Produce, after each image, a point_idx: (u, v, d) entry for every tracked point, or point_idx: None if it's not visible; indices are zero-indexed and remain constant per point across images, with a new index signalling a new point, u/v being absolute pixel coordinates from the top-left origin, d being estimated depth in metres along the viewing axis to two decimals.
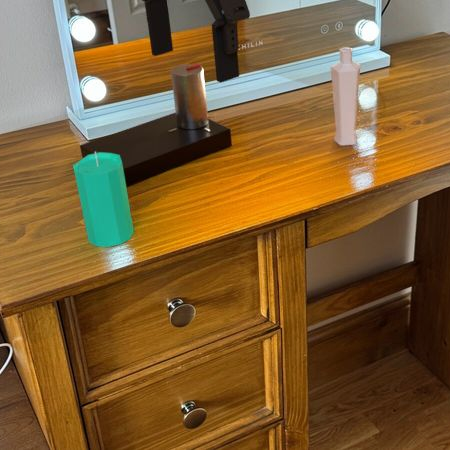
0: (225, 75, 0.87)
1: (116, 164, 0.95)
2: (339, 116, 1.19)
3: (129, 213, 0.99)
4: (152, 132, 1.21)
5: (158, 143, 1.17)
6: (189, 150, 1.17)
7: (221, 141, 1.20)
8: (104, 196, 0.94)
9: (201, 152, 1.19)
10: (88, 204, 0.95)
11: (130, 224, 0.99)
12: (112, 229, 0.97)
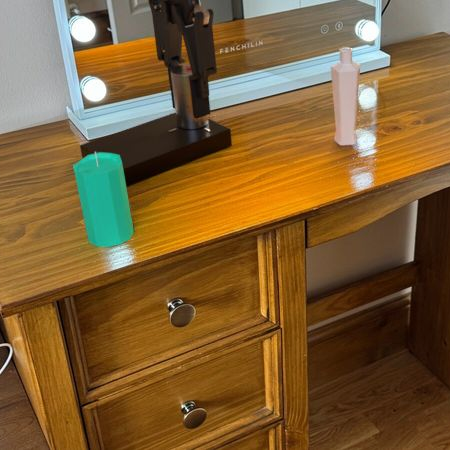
0: (200, 113, 1.19)
1: (116, 164, 0.95)
2: (339, 116, 1.19)
3: (129, 213, 0.99)
4: (152, 132, 1.21)
5: (158, 143, 1.17)
6: (189, 150, 1.17)
7: (221, 141, 1.20)
8: (104, 196, 0.94)
9: (201, 152, 1.19)
10: (88, 204, 0.95)
11: (130, 224, 0.99)
12: (112, 229, 0.97)
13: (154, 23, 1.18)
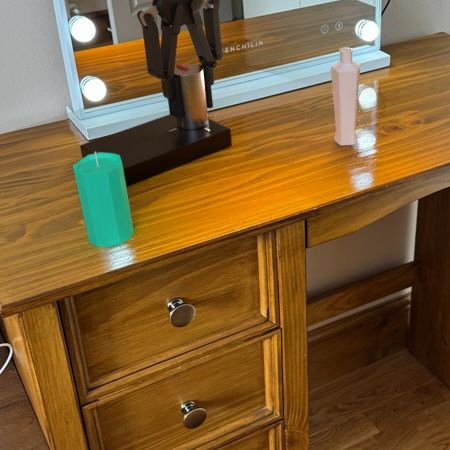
0: None
1: (116, 164, 0.95)
2: (339, 116, 1.19)
3: (129, 213, 0.99)
4: (152, 132, 1.21)
5: (158, 143, 1.17)
6: (189, 150, 1.17)
7: (221, 141, 1.20)
8: (104, 196, 0.94)
9: (201, 152, 1.19)
10: (88, 204, 0.95)
11: (130, 224, 0.99)
12: (112, 229, 0.97)
13: (153, 40, 1.11)
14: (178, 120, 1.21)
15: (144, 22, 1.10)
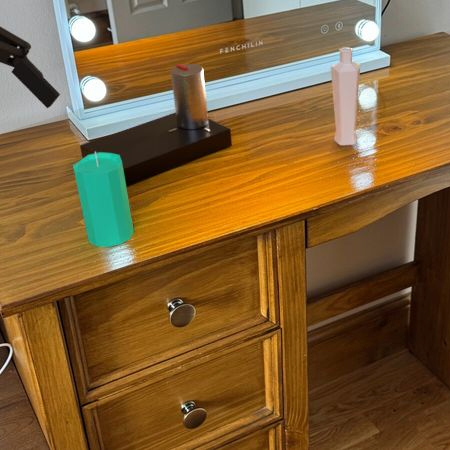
0: None
1: (116, 164, 0.95)
2: (339, 116, 1.19)
3: (129, 213, 0.99)
4: (152, 132, 1.21)
5: (158, 143, 1.17)
6: (189, 150, 1.17)
7: (221, 141, 1.20)
8: (104, 196, 0.94)
9: (201, 152, 1.19)
10: (88, 204, 0.95)
11: (130, 224, 0.99)
12: (112, 229, 0.97)
13: None
14: (178, 120, 1.21)
15: None
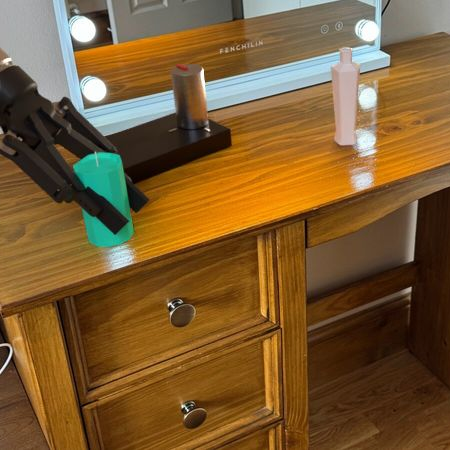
0: None
1: (116, 164, 0.95)
2: (339, 116, 1.19)
3: (129, 213, 0.99)
4: (152, 132, 1.21)
5: (158, 143, 1.17)
6: (189, 150, 1.17)
7: (221, 141, 1.20)
8: None
9: (201, 152, 1.19)
10: None
11: (130, 224, 0.99)
12: None
13: (32, 158, 0.90)
14: (178, 120, 1.21)
15: (9, 149, 0.89)
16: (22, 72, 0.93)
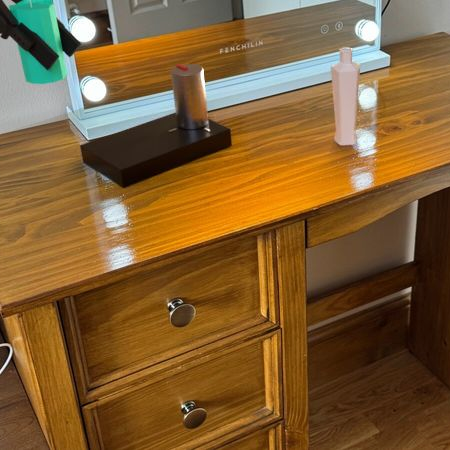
0: None
1: (48, 5, 1.06)
2: (339, 116, 1.19)
3: (62, 55, 1.09)
4: (152, 132, 1.21)
5: (158, 143, 1.17)
6: (189, 150, 1.17)
7: (221, 141, 1.20)
8: (36, 33, 1.04)
9: (201, 152, 1.19)
10: None
11: (63, 65, 1.09)
12: None
13: None
14: (178, 120, 1.21)
15: None
16: None
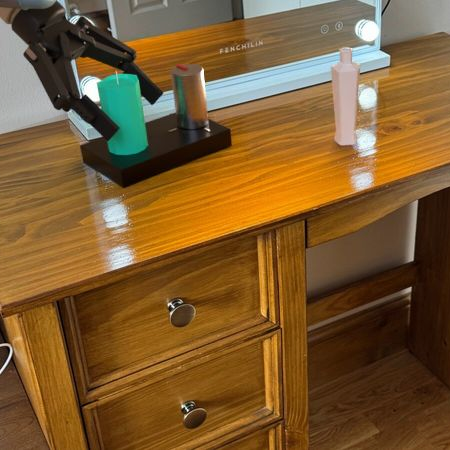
0: None
1: (133, 82, 1.11)
2: (339, 116, 1.19)
3: (144, 127, 1.15)
4: (152, 132, 1.21)
5: (158, 143, 1.17)
6: (189, 150, 1.17)
7: (221, 141, 1.20)
8: (123, 109, 1.10)
9: (201, 152, 1.19)
10: (110, 116, 1.11)
11: (145, 136, 1.15)
12: (130, 138, 1.13)
13: (47, 64, 1.04)
14: (178, 120, 1.21)
15: (32, 53, 1.04)
16: None
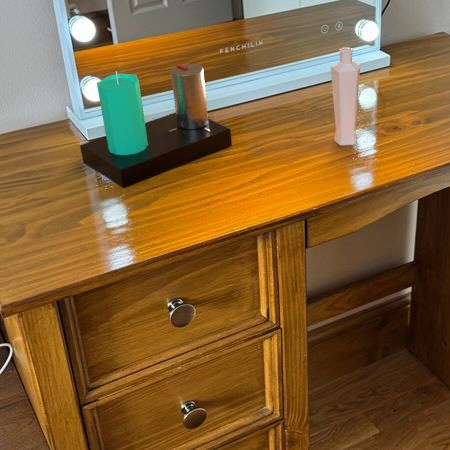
0: None
1: (133, 82, 1.11)
2: (339, 116, 1.19)
3: (144, 127, 1.15)
4: (152, 132, 1.21)
5: (158, 143, 1.17)
6: (189, 150, 1.17)
7: (221, 141, 1.20)
8: (123, 109, 1.10)
9: (201, 152, 1.19)
10: (110, 116, 1.11)
11: (145, 136, 1.15)
12: (130, 138, 1.13)
13: None
14: (178, 120, 1.21)
15: None
16: None
